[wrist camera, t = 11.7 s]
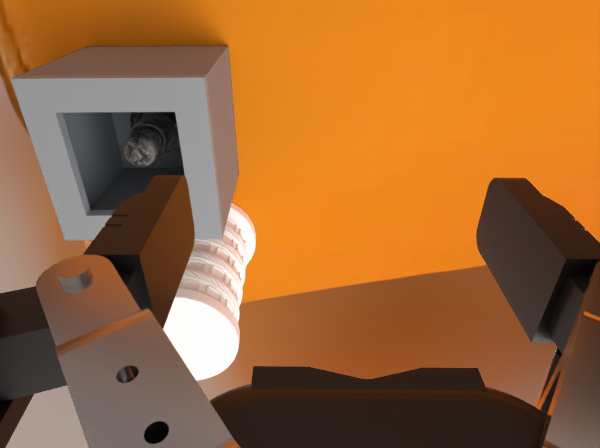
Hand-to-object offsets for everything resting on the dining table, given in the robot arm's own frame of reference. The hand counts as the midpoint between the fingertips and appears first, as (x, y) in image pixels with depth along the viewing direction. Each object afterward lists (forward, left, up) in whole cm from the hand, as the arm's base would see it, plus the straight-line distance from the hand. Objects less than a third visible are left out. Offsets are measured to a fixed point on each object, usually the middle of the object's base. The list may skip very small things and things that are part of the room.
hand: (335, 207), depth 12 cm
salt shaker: (+9, -15, -36) cm, 40 cm away
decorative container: (+24, -12, -37) cm, 46 cm away
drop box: (+9, -15, -36) cm, 40 cm away
